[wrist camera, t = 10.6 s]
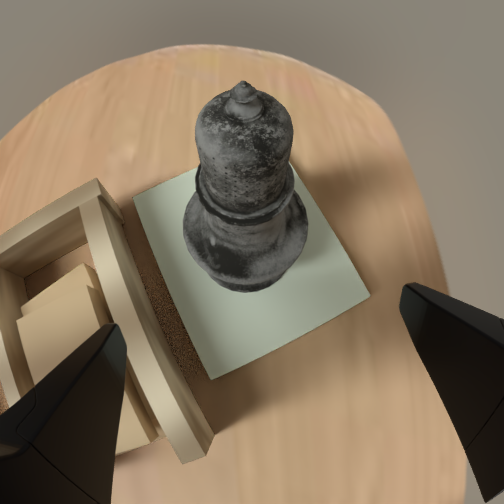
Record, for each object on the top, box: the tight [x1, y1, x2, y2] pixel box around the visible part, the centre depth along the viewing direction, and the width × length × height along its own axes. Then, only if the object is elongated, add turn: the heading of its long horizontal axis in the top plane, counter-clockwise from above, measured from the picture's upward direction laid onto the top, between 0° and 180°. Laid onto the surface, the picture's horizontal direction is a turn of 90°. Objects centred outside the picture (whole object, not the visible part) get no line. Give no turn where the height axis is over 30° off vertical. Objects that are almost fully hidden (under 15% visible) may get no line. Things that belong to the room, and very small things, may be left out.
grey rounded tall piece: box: [183, 81, 309, 293], centre depth 13 cm, size 6×6×12 cm
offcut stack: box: [16, 263, 166, 456], centre depth 15 cm, size 10×6×4 cm, turn 29°
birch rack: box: [0, 178, 215, 464], centre depth 14 cm, size 15×19×4 cm
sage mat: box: [132, 162, 370, 380], centre depth 19 cm, size 12×10×1 cm
